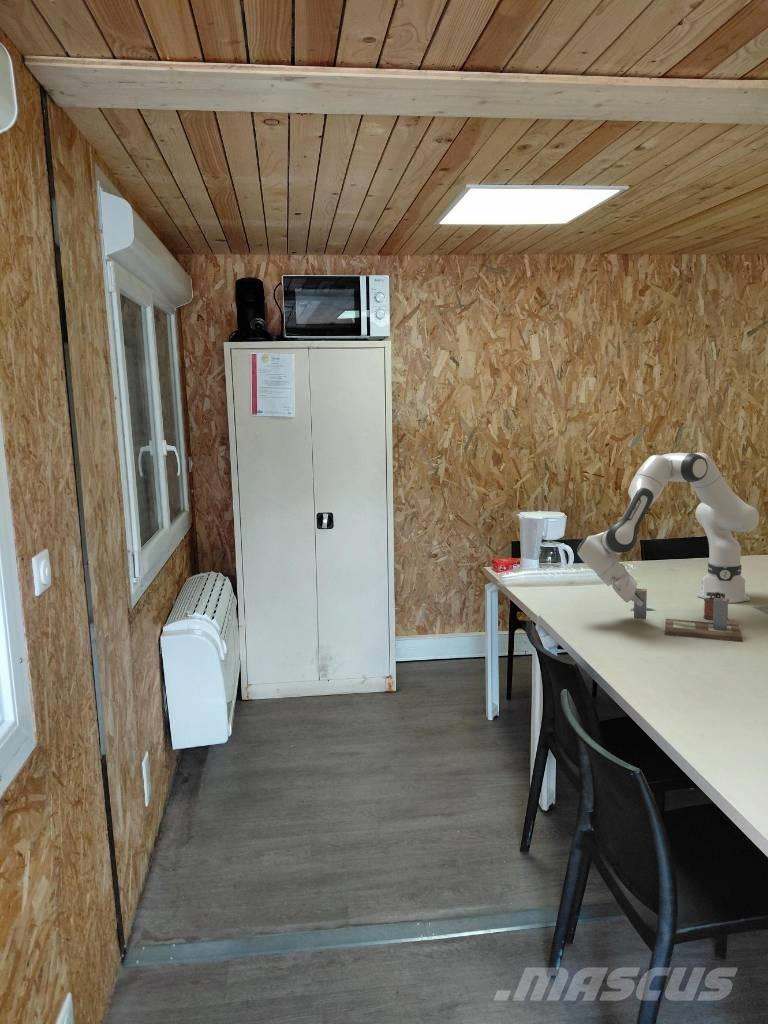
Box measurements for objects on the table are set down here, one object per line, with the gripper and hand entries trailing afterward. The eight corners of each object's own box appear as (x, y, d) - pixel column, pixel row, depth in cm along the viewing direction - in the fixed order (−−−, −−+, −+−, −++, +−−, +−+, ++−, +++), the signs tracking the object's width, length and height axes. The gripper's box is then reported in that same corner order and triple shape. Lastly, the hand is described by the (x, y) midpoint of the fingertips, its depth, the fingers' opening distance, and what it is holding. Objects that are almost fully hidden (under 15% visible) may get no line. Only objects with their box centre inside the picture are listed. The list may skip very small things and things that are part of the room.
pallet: (665, 622, 236) (665, 618, 236) (738, 628, 227) (738, 623, 227) (664, 634, 224) (664, 629, 224) (741, 641, 214) (741, 636, 214)
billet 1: (634, 615, 239) (634, 587, 237) (646, 616, 237) (646, 588, 236) (633, 618, 235) (634, 590, 234) (645, 619, 233) (646, 591, 232)
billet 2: (712, 626, 226) (713, 597, 224) (726, 627, 224) (727, 597, 223) (713, 629, 222) (714, 600, 221) (726, 630, 220) (727, 601, 219)
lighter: (726, 618, 239) (727, 591, 238) (729, 620, 236) (730, 593, 235) (702, 617, 241) (703, 590, 240) (704, 619, 238) (705, 592, 237)
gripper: (617, 575, 227) (647, 605, 225) (622, 562, 246) (650, 590, 243) (604, 587, 230) (633, 616, 227) (609, 573, 248) (637, 601, 245)
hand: (642, 602), depth 235 cm, fingers closed on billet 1, 4 cm apart
